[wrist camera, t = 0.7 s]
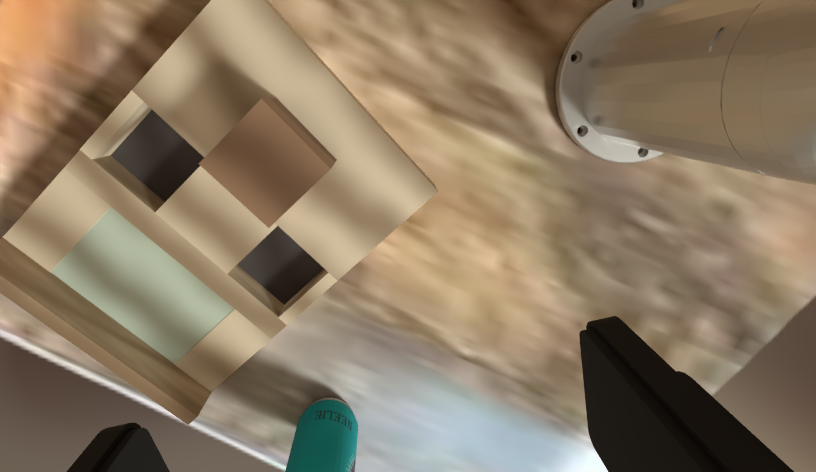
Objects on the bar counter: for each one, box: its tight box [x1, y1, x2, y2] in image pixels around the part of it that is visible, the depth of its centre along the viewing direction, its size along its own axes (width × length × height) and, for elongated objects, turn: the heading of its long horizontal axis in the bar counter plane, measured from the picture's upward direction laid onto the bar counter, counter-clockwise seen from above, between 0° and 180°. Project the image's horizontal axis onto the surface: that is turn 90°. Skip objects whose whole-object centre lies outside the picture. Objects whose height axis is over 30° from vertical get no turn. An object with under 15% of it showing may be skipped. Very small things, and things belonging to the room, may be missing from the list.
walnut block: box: [199, 98, 337, 228], centre depth 30 cm, size 6×6×4 cm
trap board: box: [0, 0, 438, 424], centre depth 33 cm, size 28×20×6 cm
